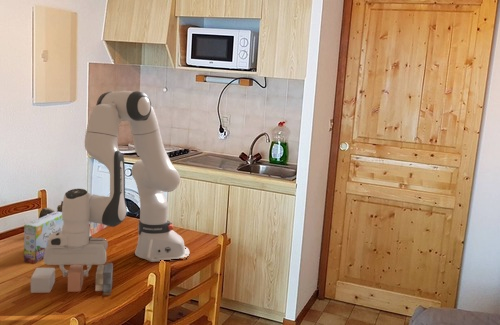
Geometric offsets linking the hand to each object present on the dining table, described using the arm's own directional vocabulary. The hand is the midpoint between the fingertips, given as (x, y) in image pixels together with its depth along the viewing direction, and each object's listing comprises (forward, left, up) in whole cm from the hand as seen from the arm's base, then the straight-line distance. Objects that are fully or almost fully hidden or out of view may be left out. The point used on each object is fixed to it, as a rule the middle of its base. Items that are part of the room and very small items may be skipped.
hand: (75, 275), depth 177 cm
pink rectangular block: (0, 0, -4) cm, 4 cm away
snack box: (+16, -34, -5) cm, 38 cm away
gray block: (+11, 0, -4) cm, 11 cm away
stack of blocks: (+1, -64, -5) cm, 64 cm away
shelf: (+1, 0, -5) cm, 5 cm away
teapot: (+14, -60, -5) cm, 62 cm away
